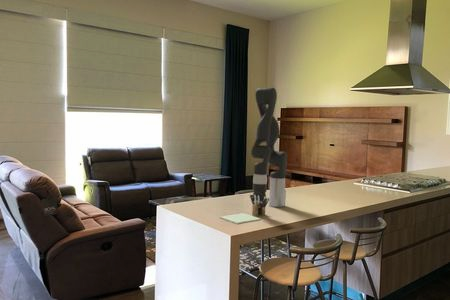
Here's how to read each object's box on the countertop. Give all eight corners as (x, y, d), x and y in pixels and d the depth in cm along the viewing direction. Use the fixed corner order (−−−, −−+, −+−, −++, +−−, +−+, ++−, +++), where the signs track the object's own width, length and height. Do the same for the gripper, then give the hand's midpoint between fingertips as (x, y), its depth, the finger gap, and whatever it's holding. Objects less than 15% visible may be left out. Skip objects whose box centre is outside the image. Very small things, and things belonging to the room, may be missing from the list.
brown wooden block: (263, 213, 210) (263, 203, 210) (265, 214, 209) (265, 203, 208) (252, 215, 205) (252, 204, 205) (254, 216, 204) (254, 205, 203)
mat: (243, 214, 208) (243, 213, 208) (260, 219, 197) (260, 218, 197) (219, 217, 198) (219, 216, 198) (236, 224, 187) (236, 222, 187)
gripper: (274, 183, 203) (272, 216, 204) (256, 180, 213) (255, 210, 215) (263, 184, 198) (262, 217, 199) (246, 181, 209) (245, 212, 210)
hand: (258, 214), depth 207 cm, fingers closed on brown wooden block, 1 cm apart
